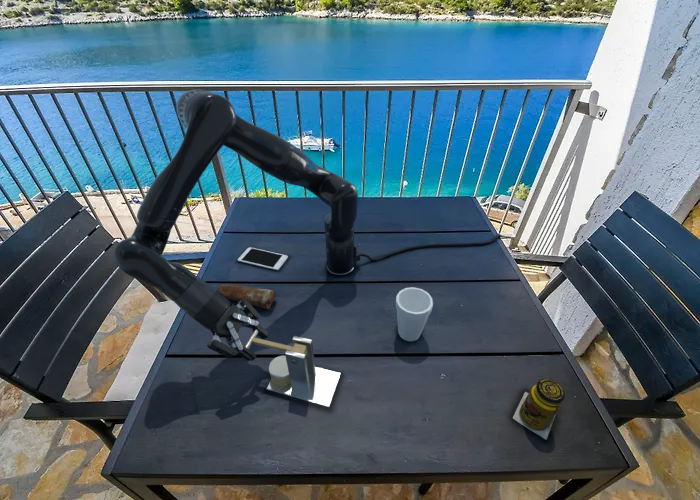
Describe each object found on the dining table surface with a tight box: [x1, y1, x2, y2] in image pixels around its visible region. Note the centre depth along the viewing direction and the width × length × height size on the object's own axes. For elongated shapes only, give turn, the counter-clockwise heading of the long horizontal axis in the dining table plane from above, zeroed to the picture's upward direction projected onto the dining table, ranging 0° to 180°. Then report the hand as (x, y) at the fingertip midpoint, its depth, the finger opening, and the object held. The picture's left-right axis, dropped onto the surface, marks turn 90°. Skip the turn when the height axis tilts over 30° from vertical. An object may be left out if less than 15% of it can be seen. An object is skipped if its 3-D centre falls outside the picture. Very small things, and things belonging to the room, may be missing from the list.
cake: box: [268, 355, 291, 386], centre depth 85 cm, size 6×6×4 cm
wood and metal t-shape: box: [243, 329, 307, 355], centre depth 79 cm, size 14×6×2 cm, turn 74°
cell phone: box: [237, 246, 289, 271], centre depth 123 cm, size 8×16×1 cm, turn 71°
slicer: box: [266, 335, 341, 408], centre depth 81 cm, size 16×9×15 cm, turn 74°
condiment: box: [512, 378, 566, 440], centre depth 76 cm, size 7×8×12 cm
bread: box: [217, 284, 277, 310], centre depth 106 cm, size 6×19×6 cm, turn 72°
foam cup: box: [395, 286, 434, 342], centre depth 94 cm, size 10×9×13 cm
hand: (260, 347), depth 81 cm, fingers closed on wood and metal t-shape, 5 cm apart
